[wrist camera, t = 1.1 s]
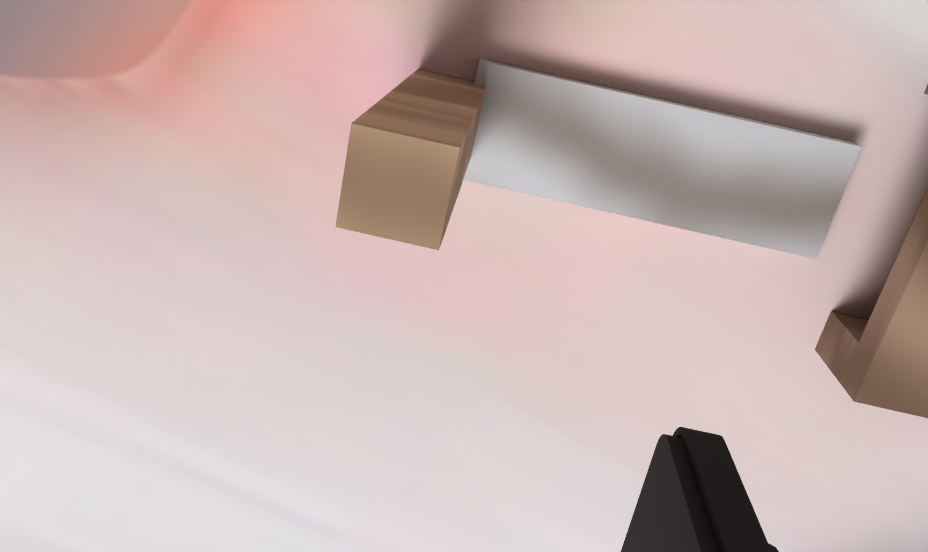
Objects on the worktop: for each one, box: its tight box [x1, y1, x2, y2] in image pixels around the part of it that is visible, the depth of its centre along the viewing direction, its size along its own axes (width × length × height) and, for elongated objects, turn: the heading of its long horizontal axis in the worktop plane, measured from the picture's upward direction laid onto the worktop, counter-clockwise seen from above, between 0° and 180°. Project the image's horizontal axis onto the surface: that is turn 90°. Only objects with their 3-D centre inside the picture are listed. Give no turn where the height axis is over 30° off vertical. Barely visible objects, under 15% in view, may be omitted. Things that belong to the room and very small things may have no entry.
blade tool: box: [336, 58, 861, 259], centre depth 27 cm, size 5×18×13 cm, turn 78°
